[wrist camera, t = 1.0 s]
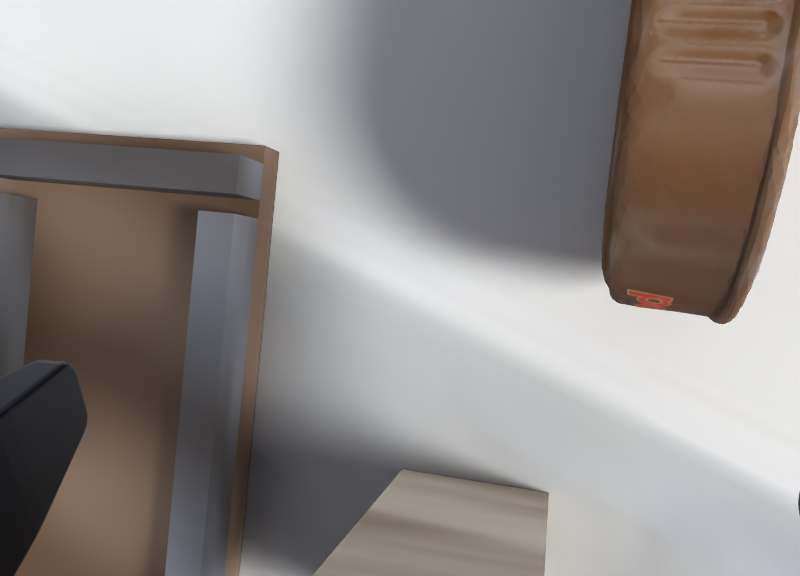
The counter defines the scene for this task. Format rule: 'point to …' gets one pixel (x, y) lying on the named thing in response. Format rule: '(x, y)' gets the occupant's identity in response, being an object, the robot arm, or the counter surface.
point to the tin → (699, 151)
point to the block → (445, 531)
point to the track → (141, 338)
